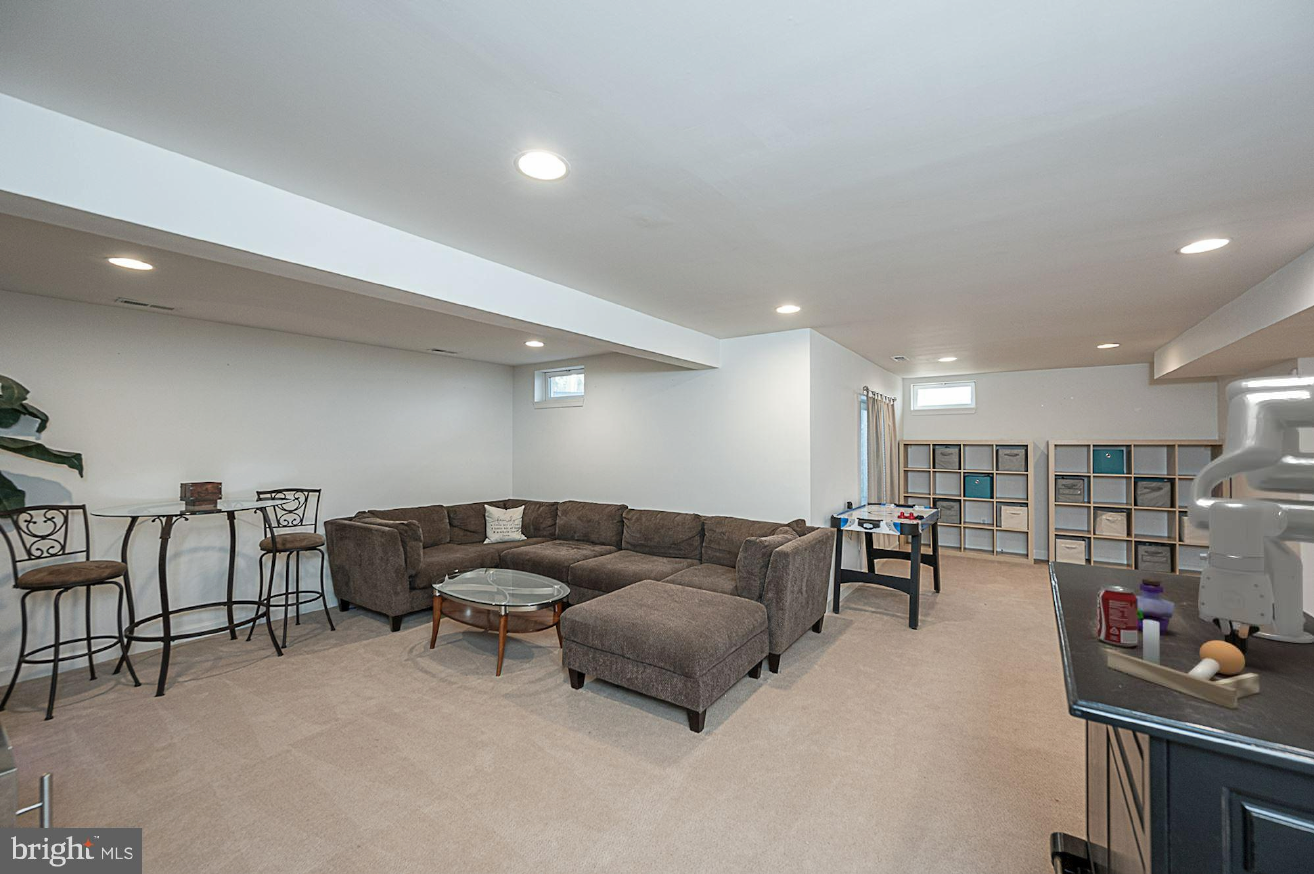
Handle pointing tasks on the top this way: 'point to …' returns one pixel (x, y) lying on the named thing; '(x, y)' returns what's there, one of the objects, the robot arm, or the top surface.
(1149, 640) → the grey pin
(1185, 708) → the top surface
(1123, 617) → the soda can
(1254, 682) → the wooden t-square
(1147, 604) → the potion bottle
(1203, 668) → the ivory pin
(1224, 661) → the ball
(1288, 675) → the top surface
